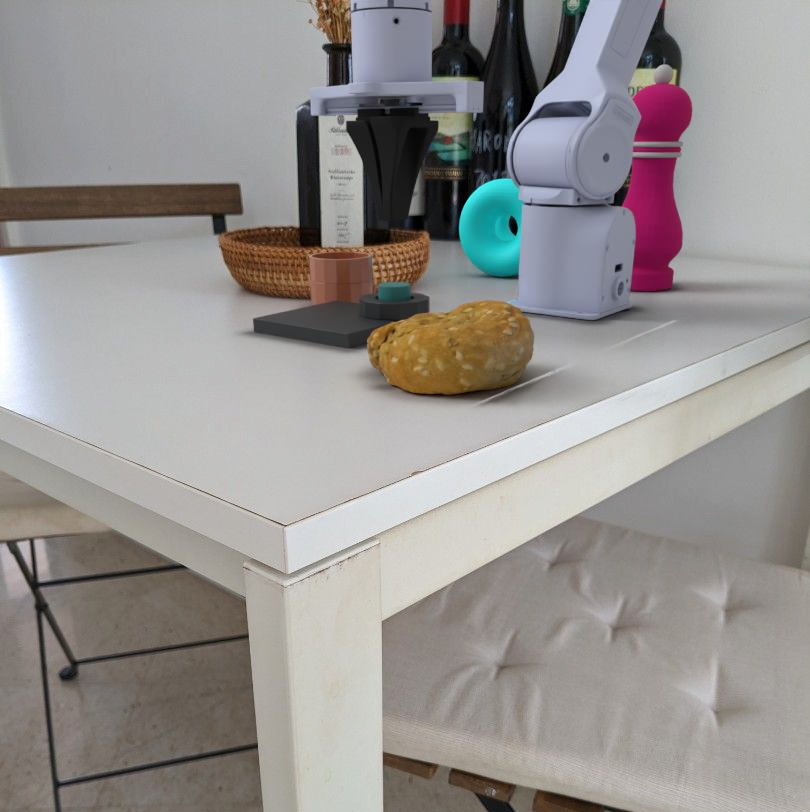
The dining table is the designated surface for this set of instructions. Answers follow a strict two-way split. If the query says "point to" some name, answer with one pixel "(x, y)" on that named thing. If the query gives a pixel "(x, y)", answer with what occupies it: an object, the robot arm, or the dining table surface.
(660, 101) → the pepper mill
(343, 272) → the cup
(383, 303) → the scale
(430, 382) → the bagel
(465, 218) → the donuts
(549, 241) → the robot arm
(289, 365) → the dining table surface
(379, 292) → the button
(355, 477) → the dining table surface
